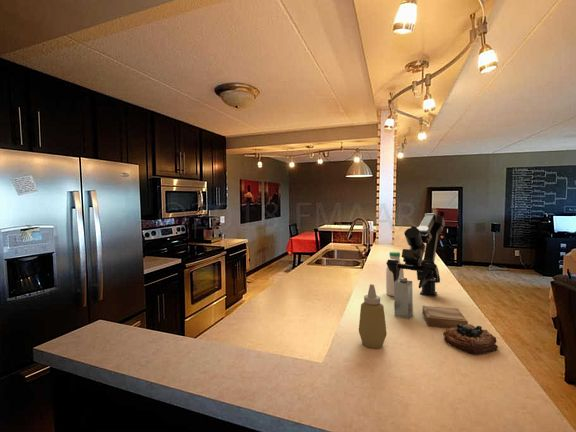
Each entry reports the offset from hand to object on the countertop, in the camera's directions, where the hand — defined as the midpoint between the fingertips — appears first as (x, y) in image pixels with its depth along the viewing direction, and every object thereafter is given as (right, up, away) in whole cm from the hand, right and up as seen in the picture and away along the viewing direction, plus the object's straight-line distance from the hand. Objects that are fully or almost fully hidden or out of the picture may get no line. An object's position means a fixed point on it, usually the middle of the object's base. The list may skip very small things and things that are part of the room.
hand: (406, 285), depth 108 cm
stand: (+10, -11, -8) cm, 16 cm away
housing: (-2, -11, -2) cm, 11 cm away
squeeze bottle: (-20, -12, -24) cm, 34 cm away
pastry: (+8, -12, -25) cm, 29 cm away
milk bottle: (+5, -10, +23) cm, 26 cm away
